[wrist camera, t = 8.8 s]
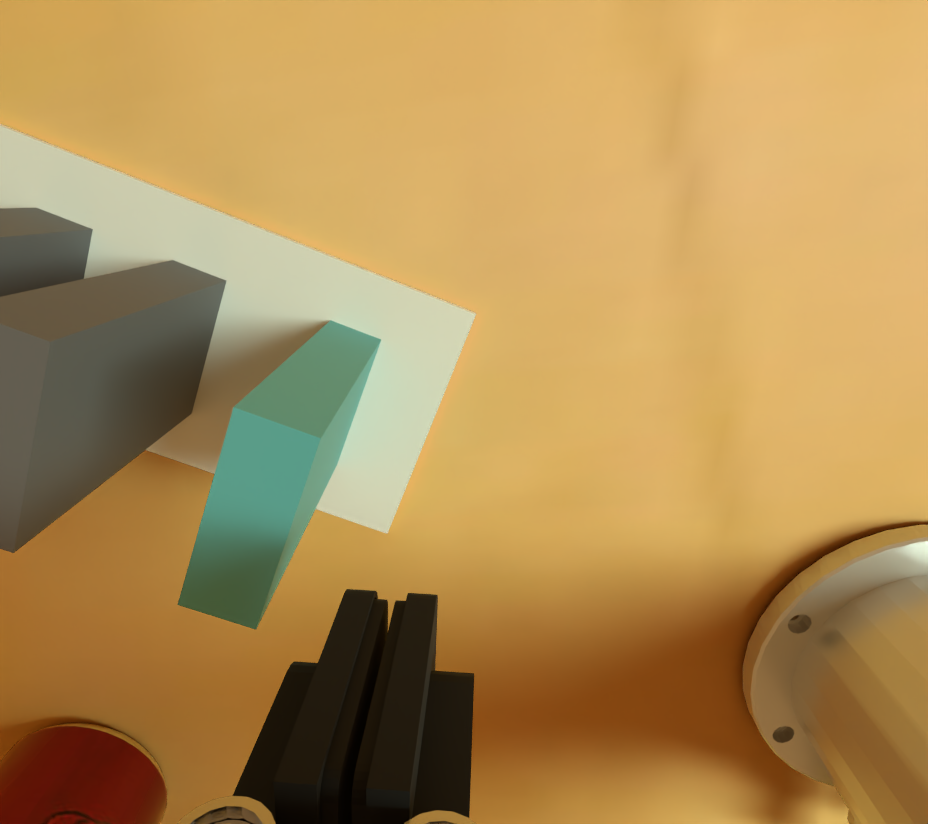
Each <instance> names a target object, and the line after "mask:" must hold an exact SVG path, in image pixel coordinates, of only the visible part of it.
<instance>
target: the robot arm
mask: <svg viewBox="0 0 928 824" xmlns="http://www.w3.org/2000/svg"><path fill="white" fill-rule="evenodd" d="M437 602H438V596H437V595H431V594H415V593H408V595H407V599H406V601H396V602H395V605H394V609H393V613H392V618H391V622H390V626H389V630H388V602H387V600H381V599H378V596H377V592H376V591H367V590H351V589H347V590H346V591H345V593H344V596H343V598H342V601H341V604H340V606H339V609H338V612H337V614H336V617H335V620H334V622H333V625H332V627H331V630H330V633H329V635H328V638H327V641H326V643H325V646H324V649H323V651H322V654H321V657H320V659H319V662H318V663H306V662H293V663H292V664H291V665H290V667H289V669H288V671H287V673H286V675H285V677H284V680H283V682H282V684H281V687H280V689H279V691H278V693H277V696H276V698H275V700H274V703H273V705H272V707H271V709H270V712H269V714H268V716H267V718H266V721H265V723H264V725H263V728H262V730H261V732H260V734H259V737H258V739H257V741H256V744H255V746H254V748H253V750H252V753H251V755H250V757H249V760H248V762H247V764H246V766H245V769H244V771H243V773H242V776H241V778H240V780H239V782H238V785H237V787H236V789H235V792H234V794H233V796H228V797H223V798H218V799H214V800H211V801H209V802H207V803H205V804H203V805H201V806H198V807H196V808H195V809H194V810H192V811H191V812H190V813H188V814H187V815H186V816H184V817H183V818H182V819H180V821H179V822H178V823H177V824H476V823H475V822H473V821H472V820H471V819H469V808H470V778H471V749H472V720H473V690H474V674H473V673H458V672H443V671H435V657H436V630H437ZM743 692H744V696H745V700H746V703H747V707H748V711H749V713H750V714H751V716H752V718H753V720H754V722H755V724H756V726H757V728H758V730H759V732H760V734H761V736H762V737H763V739H764V740H765V741H766V743H767V744H768V745H769V747H770V748H771V749H772V751H773V752H774V753H775V754H776V755H777V756H778V757H779V758H780V759H782V760H783V761H784V762H785V763H786V764H787V765H789V766H790V767H791V768H792V769H794V770H796V771H798V772H800V773H802V774H803V775H805V776H807V777H809V778H811V779H813V780H816V781H819V782H822V783H825V784H828V785H831V786H835V788H836V789H837V791H838V793H839V794H840V796H841V797H842V799H843V801H844V802H845V804H846V805H847V807H848V809H849V811H848V817H847V819H848V822H849V824H928V525H915V526H909V527H903V528H897V529H892V530H886V531H883V532H880V533H877V534H874V535H871V536H868V537H865V538H862V539H859V540H856V541H853V542H851V543H849V544H847V545H845V546H843V547H841V548H839V549H837V550H835V551H833V552H831V553H829V554H827V555H825V556H824V557H822V558H821V559H819V560H818V561H817V562H815V563H814V564H812V565H811V566H810V567H808V568H807V569H805V570H804V571H802V572H801V573H800V574H798V575H797V576H796V577H795V578H794V579H793V580H792V581H791V582H790V583H789V584H788V585H787V586H786V587H785V588H784V589H783V590H782V591H781V592H780V593H779V594H778V595H777V596H776V597H775V598H774V600H773V601H772V602H771V604H770V605H769V606H768V608H767V609H766V611H765V612H764V613H763V615H762V616H761V617H760V619H759V621H758V623H757V625H756V627H755V629H754V632H753V634H752V636H751V638H750V640H749V642H748V646H747V650H746V654H745V659H744V663H743Z"/></svg>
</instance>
